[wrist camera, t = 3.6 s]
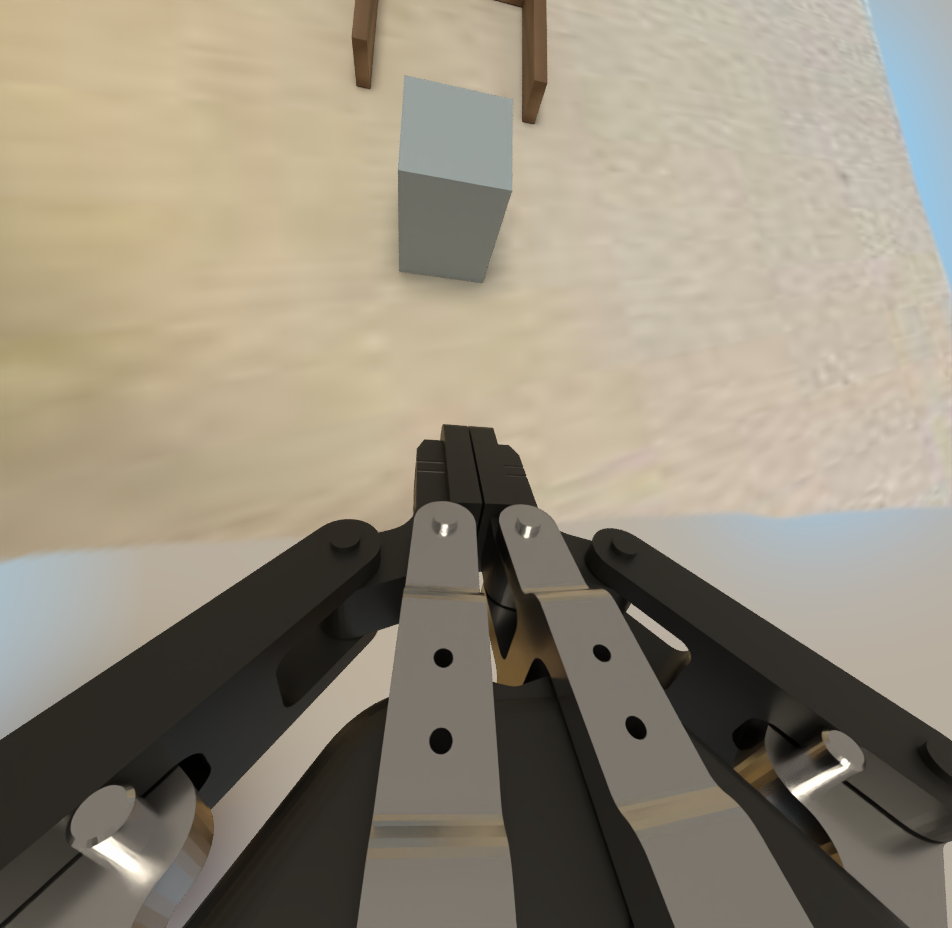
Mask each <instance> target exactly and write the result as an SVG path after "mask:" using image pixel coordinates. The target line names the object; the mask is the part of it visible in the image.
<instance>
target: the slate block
mask: <svg viewBox="0 0 952 928" xmlns="http://www.w3.org/2000/svg"><path fill="white" fill-rule="evenodd" d="M512 125H513V99H509V98H504V97H500V96H495V95H491V94H486V93H482V92H478V91H473V90H469V89H464V88H460V87H455V86H451V85H446V84H442V83H437V82H433V81H428V80H424V79H420V78H415V77H411V76H406V75H405V76H404V90H403V105H402V119H401V134H400V149H399V163H398V213H399V271H400V272H407V273H414V274H421V275H429V276H436V277H443V278H450V279H458V280H465V281H472V282H479V283H483V280H484V277H485V274H486V271H487V268H488V264H489V261H490V258H491V255H492V252H493V249H494V246H495V243H496V239H497V236H498V233H499V230H500V227H501V224H502V221H503V218H504V214H505V211H506V208H507V205H508V202H509V199H510V196H511V193H512Z"/></svg>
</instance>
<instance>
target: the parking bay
mask: <svg viewBox="0 0 952 928" xmlns="http://www.w3.org/2000/svg"><path fill="white" fill-rule="evenodd" d="M498 1H501V2H505V3H509V4H513V5H516V6H520V7H522V121H523V122H528V123H532V124H534V123H535V120H536V117H537V114H538V110H539V107H540V104H541V101H542V98H543V95H544V92H545V89H546V86H547V23H546V0H498ZM377 5H378V0H355V9H354V19H353V29H352V45H353V55H354V65H355V75H356V85H357V86H360V87H365V88H370V86H371V74H372V63H373V51H374V40H375V28H376V17H377Z"/></svg>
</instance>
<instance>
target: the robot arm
mask: <svg viewBox="0 0 952 928" xmlns="http://www.w3.org/2000/svg"><path fill="white" fill-rule="evenodd" d="M478 572H482V574H483V581H484V582H483V586H482V590H481V593H480V589H479V573H478ZM631 603H632V604H633V605H634V606H636V607H637V608H638V609H640V610H641V611H642V612H644V613H645V614H646V615H648V616H649V617H650V618H652V619H653V620H654V621H656V622H657V623H658V624H660V625H661V626H662V627H664V628H665V629H666V630H668V631H669V632H670V633H672V634H673V635H674V636H676V637H677V638H678V639H680V640H681V641H682V642H683V643H684V644H685V645H686V646H687V648H688V649H689V650H688V651H679V650H676V649H674V648H672V647H671V646H669V645H668V644H666V643H665V642H664V641H663V640H661V639H660V638H659V637H657V636H656V635H655V634H654V633H652V632H651V631H650V630H648V629H647V628H646V627H644V626H643V625H642V624H641V623H639V622H638V621H637V620H635V619H634V618H633V617H631V616H630V615H629V614H628V613H626V611H627V609H628V608H629V606H630V604H631ZM396 624H399V628H398V636H397V642H396V650H395V658H394V666H393V672H392V680H391V687H390V695H389V697H388V698H386V699H384V700H381V701H379V702H378V703H375V704H374V705H372V706H370V707H369V708H367V709H366V710H364V711H363V712H361V713H360V714H358V715H357V716H356V717H355V718H353V719H352V720H351V721H350V722H349V723H347V724H346V725H345V726H344V727H343V728H342V729H341V730H340V731H339V732H338V733H337V734H336V735H335V736H334V737H333V739H332V740H331V741H330V742H329V743H328V744H327V746H326V747H325V748H324V749H323V751H322V752H321V753H320V754H319V756H318V757H317V758H316V760H315V761H314V762H313V764H312V765H311V766H310V767H309V768H308V770H307V771H306V772H305V774H304V775H303V776H302V777H301V778H300V780H299V781H298V782H297V784H296V785H295V786H294V787H293V789H292V790H291V791H290V792H289V794H288V795H287V796H286V798H285V799H284V800H283V801H282V802H281V804H280V805H279V806H278V808H277V809H276V810H275V812H274V813H273V814H272V815H271V817H270V818H269V819H268V820H267V821H266V823H265V824H264V825H263V827H262V828H261V829H260V830H259V832H258V833H257V834H256V836H255V837H254V838H253V839H252V840H251V842H250V843H249V844H248V846H247V847H246V848H245V849H244V851H243V852H242V853H241V854H240V856H239V857H238V858H237V860H236V861H235V862H234V863H233V864H232V866H231V867H230V868H229V870H228V871H227V872H226V873H225V875H224V876H223V877H222V878H221V880H220V881H219V882H218V883H217V885H216V886H215V887H214V889H213V890H212V891H211V892H210V893H209V895H208V896H207V897H206V898H205V900H204V901H203V902H202V904H201V905H200V906H199V907H198V909H197V910H196V911H195V912H194V914H193V915H192V916H191V918H190V919H189V920H188V921H187V922H186V924H185V925H184V926H183V927H182V928H948V927H947V912H946V894H945V876H944V860H943V847H944V845H945V844H946V843H947V842H950V841H952V741H951V740H950V739H949V738H947V737H946V736H944V735H943V734H941V733H940V732H938V731H937V730H935V729H933V728H932V727H930V726H929V725H927V724H926V723H924V722H923V721H921V720H920V719H918V718H916V717H915V716H913V715H912V714H910V713H909V712H907V711H906V710H904V709H902V708H901V707H899V706H898V705H896V704H895V703H893V702H892V701H890V700H889V699H887V698H886V697H884V696H882V695H881V694H879V693H878V692H876V691H875V690H873V689H872V688H870V687H869V686H867V685H865V684H863V683H862V682H860V681H859V680H858V679H856V678H855V677H853V676H851V675H850V674H848V673H847V672H845V671H844V670H842V669H841V668H839V667H837V666H836V665H834V664H833V663H831V662H830V661H828V660H827V659H825V658H823V657H822V656H820V655H819V654H817V653H816V652H814V651H813V650H811V649H809V648H808V647H806V646H805V645H803V644H802V643H800V642H799V641H797V640H796V639H794V638H792V637H791V636H789V635H788V634H786V633H785V632H783V631H782V630H780V629H778V628H777V627H775V626H774V625H772V624H771V623H769V622H768V621H766V620H765V619H763V618H761V617H760V616H758V615H757V614H755V613H754V612H752V611H751V610H749V609H747V608H746V607H744V606H743V605H741V604H740V603H738V602H737V601H735V600H734V599H732V598H730V597H729V596H727V595H726V594H724V593H723V592H721V591H720V590H718V589H716V588H715V587H713V586H712V585H710V584H709V583H707V582H706V581H704V580H703V579H701V578H699V577H698V576H696V575H695V574H693V573H692V572H690V571H689V570H687V569H686V568H684V567H682V566H681V565H679V564H678V563H676V562H674V561H673V560H671V559H670V558H668V557H666V556H665V555H664V554H662V553H661V552H659V551H657V550H656V549H654V548H653V547H651V546H650V545H648V544H647V543H645V542H644V541H642V540H641V539H639V538H637V537H636V536H634V535H632V534H630V533H628V532H626V531H623V530H619V529H613V528H610V529H609V528H607V529H602V530H600V531H598V532H597V533H596V534H595V535H594V537H593V539H592V541H590V540H587V539H583V538H579V537H576V536H572V535H569V534H566V533H563V532H561V531H559V529H558V527H557V525H556V523H555V521H554V520H553V519H552V517H551V516H550V515H548V514H547V513H546V512H544V511H543V510H541V509H539V508H538V507H537V504H536V501H535V499H534V496H533V493H532V490H531V487H530V485H529V482H528V479H527V478H526V474H525V471H524V468H523V465H522V462H521V460H520V457H519V455H518V454H517V453H516V452H515V451H514V450H513V449H512V448H511V447H510V446H509V445H499V444H498V443H497V439H496V436H495V433H494V429H493V428H488V427H475V426H468V427H467V426H460V425H447V424H443V425H442V430H441V438H440V441H439V440H425V439H424V441H423V442H422V443H421V444H420V446H419V447H418V448H417V455H416V468H415V481H414V504H413V517H412V518H411V519H410V520H409V521H408V522H407V523H405V524H404V525H402V526H400V527H398V528H395V529H392V530H388V531H383V532H379V533H378V531H377V530H376V529H375V528H374V527H373V526H371V525H370V524H368V523H366V522H363V521H360V520H353V519H344V520H337V521H334V522H331V523H328V524H326V525H324V526H322V527H321V528H319V529H318V530H316V531H315V532H313V533H312V534H310V535H309V536H307V537H306V538H304V539H303V540H301V541H300V542H298V543H297V544H295V545H294V546H292V547H291V548H289V549H288V550H286V551H285V552H283V553H282V554H280V555H279V556H277V557H276V558H274V559H273V560H271V561H270V562H268V563H267V564H265V565H263V566H262V567H260V568H259V569H257V570H256V571H254V572H253V573H251V574H250V575H249V576H247V577H245V578H244V579H242V580H241V581H239V582H238V583H236V584H235V585H233V586H232V587H230V588H229V589H227V590H226V591H224V592H223V593H221V594H220V595H218V596H217V597H215V598H214V599H212V600H211V601H209V602H208V603H206V604H205V605H203V606H202V607H200V608H199V609H197V610H196V611H194V612H193V613H191V614H190V615H188V616H187V617H185V618H184V619H182V620H181V621H179V622H178V623H176V624H175V625H173V626H172V627H170V628H169V629H167V630H166V631H164V632H163V633H161V634H160V635H158V636H156V637H155V638H153V639H152V640H150V641H149V642H147V643H146V644H145V645H143V646H142V647H140V648H138V649H137V650H135V651H134V652H132V653H131V654H129V655H128V656H126V657H125V658H123V659H122V660H120V661H119V662H117V663H116V664H114V665H113V666H111V667H110V668H108V669H107V670H105V671H104V672H102V673H101V674H99V675H98V676H96V677H95V678H93V679H92V680H90V681H89V682H87V683H86V684H84V685H83V686H81V687H80V688H78V689H77V690H75V691H74V692H72V693H71V694H69V695H68V696H66V697H65V698H63V699H61V700H60V701H58V702H57V703H55V704H54V705H53V706H51V707H50V708H48V709H46V710H45V711H43V712H42V713H40V714H39V715H37V716H36V717H34V718H33V719H31V720H30V721H28V722H27V723H25V724H24V725H22V726H21V727H19V728H18V729H16V730H15V731H13V732H12V733H10V734H9V735H7V736H6V737H4V738H3V739H1V740H0V928H166V926H167V924H168V921H169V919H170V917H171V916H172V914H173V912H174V911H175V909H176V907H177V906H178V904H179V903H180V901H181V900H182V899H183V897H184V896H185V894H186V893H187V892H188V890H189V889H190V887H191V886H192V885H193V883H194V882H195V880H196V879H197V877H198V875H199V874H200V872H201V870H202V868H203V866H204V864H205V862H206V859H207V857H208V854H209V851H210V848H211V845H212V840H213V832H214V823H213V816H212V813H211V809H212V808H213V807H214V806H215V805H216V803H218V801H219V800H220V799H221V798H222V797H223V796H224V795H225V794H226V793H227V792H228V791H229V790H230V789H231V788H232V787H233V786H234V785H235V784H236V782H237V781H238V780H239V779H240V778H241V777H242V776H243V775H244V774H245V773H246V772H247V771H248V770H249V769H250V768H251V767H252V766H253V765H254V764H255V762H256V761H257V760H258V759H259V758H260V757H261V756H262V755H263V754H264V753H265V752H266V751H267V750H268V749H269V748H270V747H271V746H272V745H273V744H274V742H275V741H276V740H277V739H278V738H279V737H280V736H281V735H282V734H283V733H284V732H285V731H286V730H287V729H288V728H289V727H290V726H291V725H292V723H293V722H294V721H295V720H296V719H297V718H298V717H299V716H300V715H301V714H302V713H303V712H304V711H305V710H306V709H307V708H308V707H309V706H310V705H311V703H313V701H314V700H315V699H316V698H317V697H318V696H319V695H320V694H321V693H322V692H323V691H324V690H325V689H326V688H327V686H329V685H330V683H332V681H333V680H334V679H335V678H336V677H337V676H338V675H339V674H340V673H341V672H342V671H343V670H344V669H345V668H346V667H347V666H348V665H349V664H350V662H351V661H352V660H353V659H354V658H355V657H356V656H357V655H358V654H359V653H360V652H361V651H362V650H363V649H364V647H366V646H367V645H368V644H369V642H370V641H371V640H372V639H373V638H374V636H375V635H376V633H377V631H378V630H381V629H384V628H387V627H390V626H393V625H396ZM489 637H490V641H491V645H492V650H493V654H494V658H495V663H496V669H497V683H495V682H492V669H491V655H490V641H489Z"/></svg>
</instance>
